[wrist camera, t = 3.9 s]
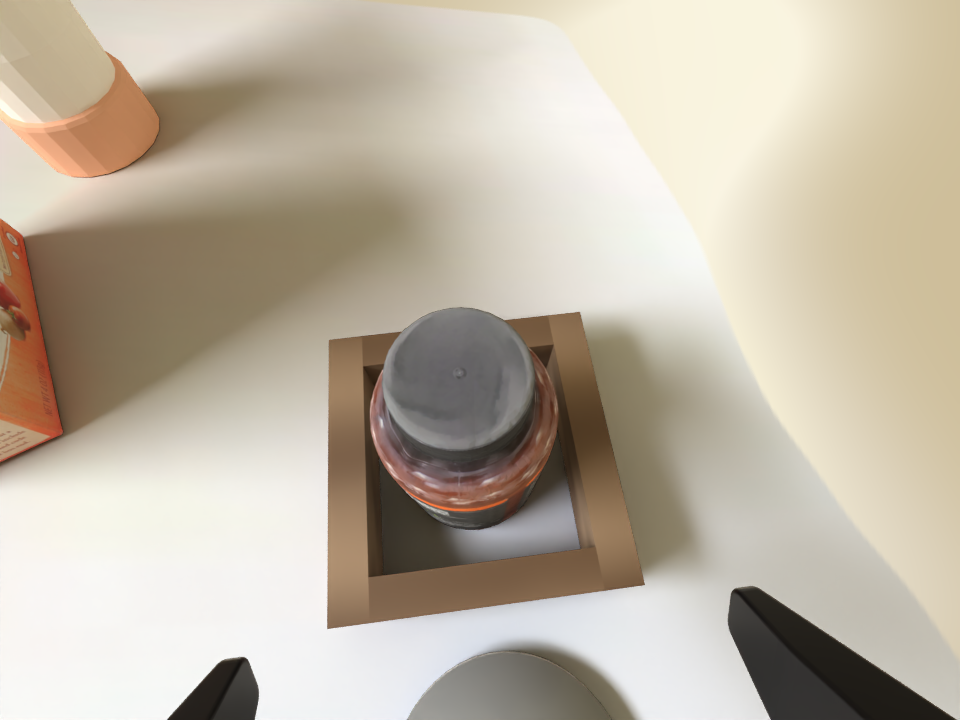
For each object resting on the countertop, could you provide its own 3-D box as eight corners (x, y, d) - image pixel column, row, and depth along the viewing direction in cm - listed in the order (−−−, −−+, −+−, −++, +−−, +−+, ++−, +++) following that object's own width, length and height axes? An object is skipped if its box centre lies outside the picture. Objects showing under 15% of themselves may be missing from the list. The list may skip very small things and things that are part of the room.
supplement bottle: (523, 396, 24) (554, 261, 14) (546, 521, 21) (605, 472, 11) (403, 413, 24) (340, 287, 13) (413, 541, 21) (346, 510, 11)
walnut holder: (623, 583, 20) (644, 585, 18) (348, 621, 20) (327, 628, 17) (569, 340, 25) (579, 311, 22) (346, 366, 25) (328, 339, 22)
